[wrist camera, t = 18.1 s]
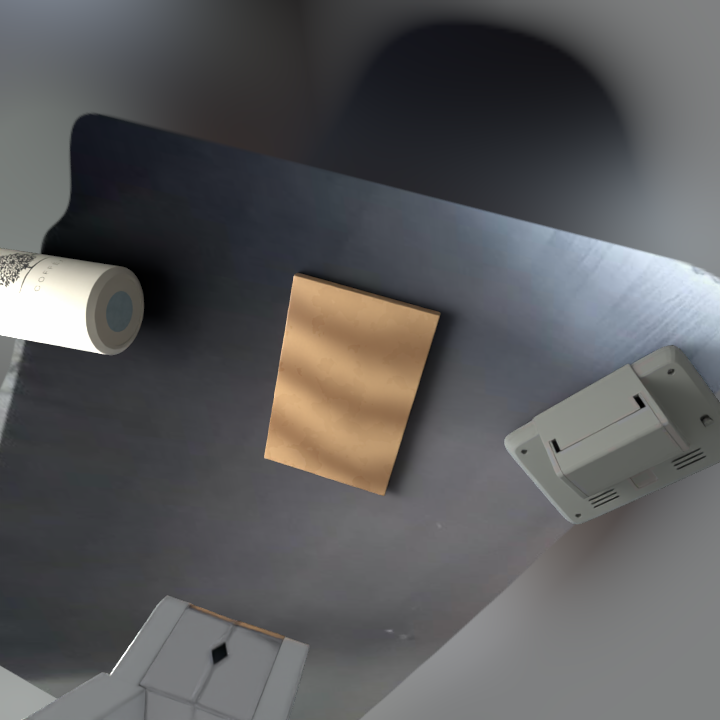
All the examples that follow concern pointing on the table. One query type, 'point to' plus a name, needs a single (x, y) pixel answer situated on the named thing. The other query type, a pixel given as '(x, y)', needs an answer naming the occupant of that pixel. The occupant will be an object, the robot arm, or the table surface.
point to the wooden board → (347, 381)
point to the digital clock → (621, 436)
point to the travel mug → (69, 302)
